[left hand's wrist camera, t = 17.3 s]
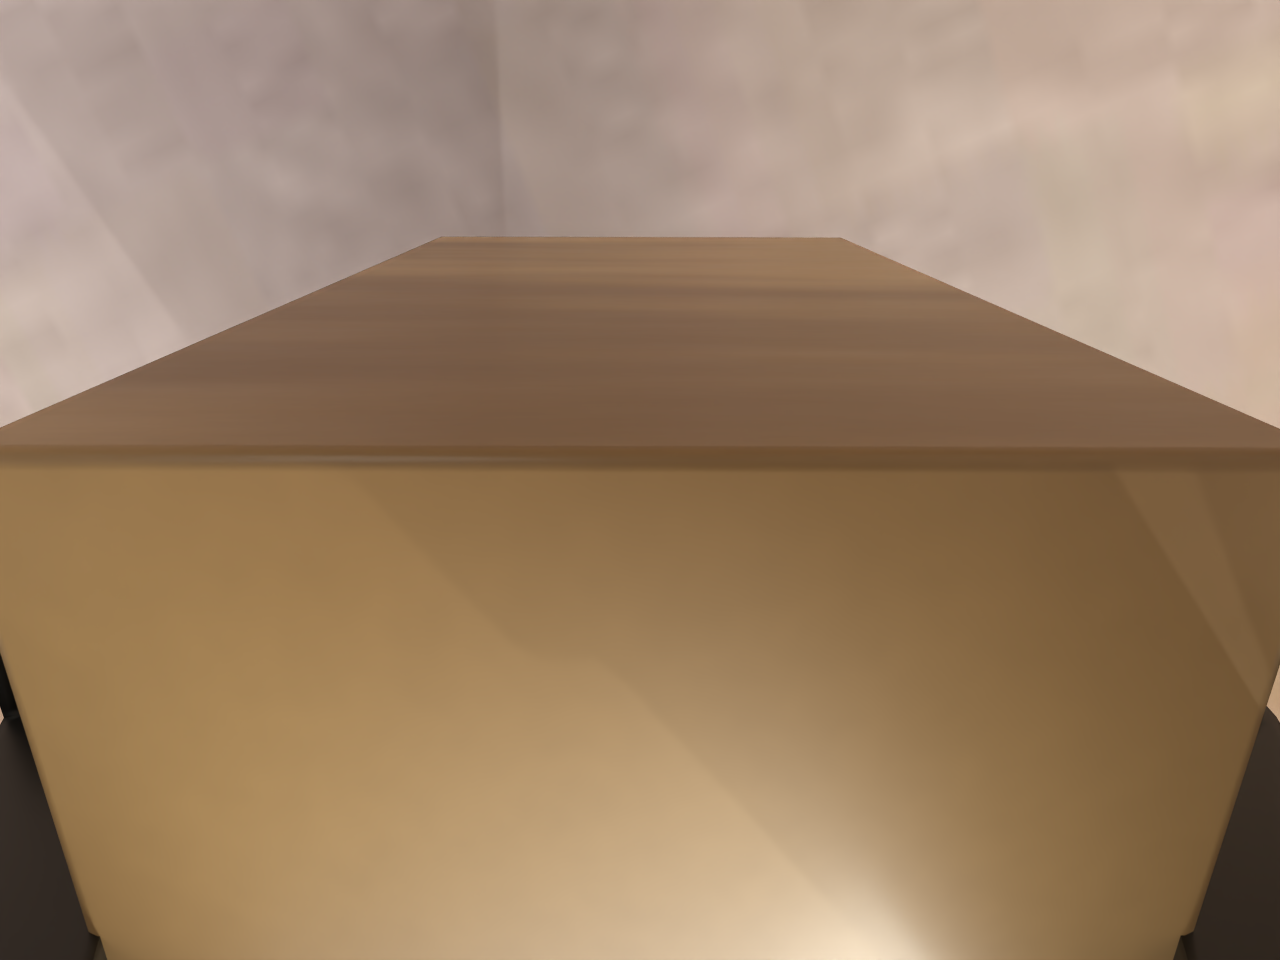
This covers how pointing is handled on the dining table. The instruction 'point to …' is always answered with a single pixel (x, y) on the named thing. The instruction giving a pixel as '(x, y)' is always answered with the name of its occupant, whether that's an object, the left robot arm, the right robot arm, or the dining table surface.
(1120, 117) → the dining table surface
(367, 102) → the dining table surface
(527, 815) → the box
